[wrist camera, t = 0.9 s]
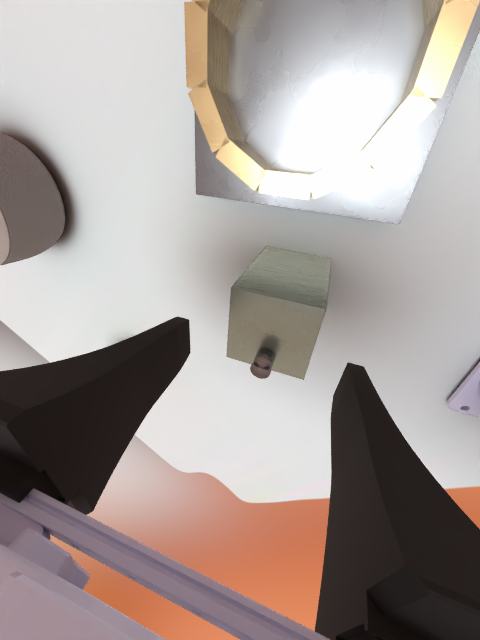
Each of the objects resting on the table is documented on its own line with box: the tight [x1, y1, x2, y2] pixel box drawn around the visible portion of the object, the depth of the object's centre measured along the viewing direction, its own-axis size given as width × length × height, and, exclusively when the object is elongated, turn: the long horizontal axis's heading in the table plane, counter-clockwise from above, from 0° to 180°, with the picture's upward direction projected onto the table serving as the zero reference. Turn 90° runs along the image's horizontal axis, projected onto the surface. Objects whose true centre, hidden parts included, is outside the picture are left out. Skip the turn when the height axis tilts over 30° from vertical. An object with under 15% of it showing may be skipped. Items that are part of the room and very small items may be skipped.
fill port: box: [184, 0, 480, 224], centre depth 11 cm, size 12×12×4 cm
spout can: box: [227, 246, 332, 380], centre depth 15 cm, size 4×4×8 cm
